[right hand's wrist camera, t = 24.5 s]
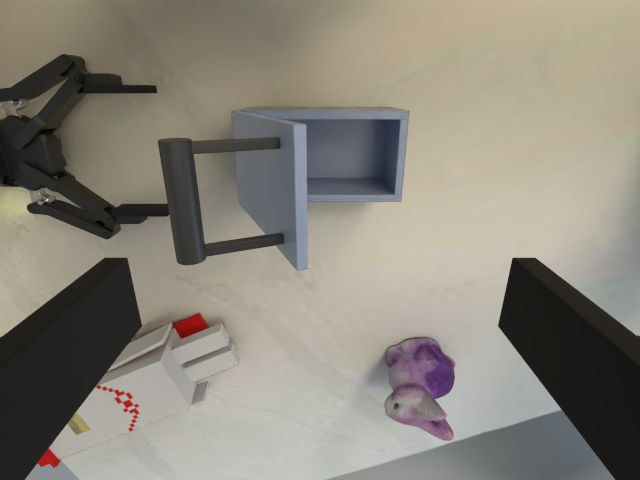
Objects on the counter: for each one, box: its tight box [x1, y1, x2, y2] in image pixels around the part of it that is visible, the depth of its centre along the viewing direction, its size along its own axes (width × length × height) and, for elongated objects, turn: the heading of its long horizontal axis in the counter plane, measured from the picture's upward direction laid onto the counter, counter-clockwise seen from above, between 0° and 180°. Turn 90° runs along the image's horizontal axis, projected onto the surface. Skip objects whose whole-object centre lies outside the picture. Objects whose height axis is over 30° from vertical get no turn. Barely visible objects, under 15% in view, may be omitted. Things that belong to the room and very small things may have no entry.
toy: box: [38, 313, 240, 468], centre depth 56 cm, size 12×13×30 cm
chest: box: [238, 107, 409, 202], centre depth 44 cm, size 18×10×10 cm, turn 90°
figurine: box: [384, 338, 455, 441], centre depth 54 cm, size 9×10×15 cm
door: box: [158, 111, 308, 270], centre depth 30 cm, size 18×10×8 cm
